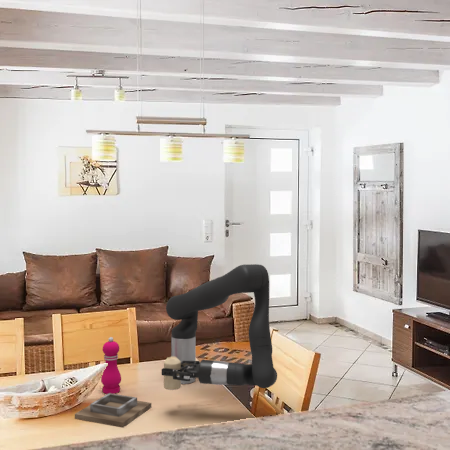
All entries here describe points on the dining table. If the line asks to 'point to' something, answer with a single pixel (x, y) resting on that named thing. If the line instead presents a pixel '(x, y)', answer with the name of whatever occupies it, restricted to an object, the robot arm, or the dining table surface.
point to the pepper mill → (111, 368)
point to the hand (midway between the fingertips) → (164, 368)
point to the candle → (168, 380)
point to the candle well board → (113, 410)
